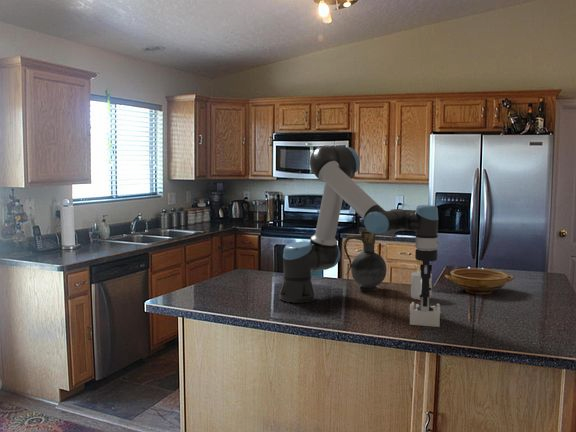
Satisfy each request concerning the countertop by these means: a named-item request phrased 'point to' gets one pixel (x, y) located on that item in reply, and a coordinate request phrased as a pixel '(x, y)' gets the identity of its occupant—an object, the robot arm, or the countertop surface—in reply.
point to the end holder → (424, 317)
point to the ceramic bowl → (479, 279)
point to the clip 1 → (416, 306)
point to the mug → (418, 285)
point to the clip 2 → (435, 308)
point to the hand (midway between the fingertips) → (425, 311)
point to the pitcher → (367, 262)
